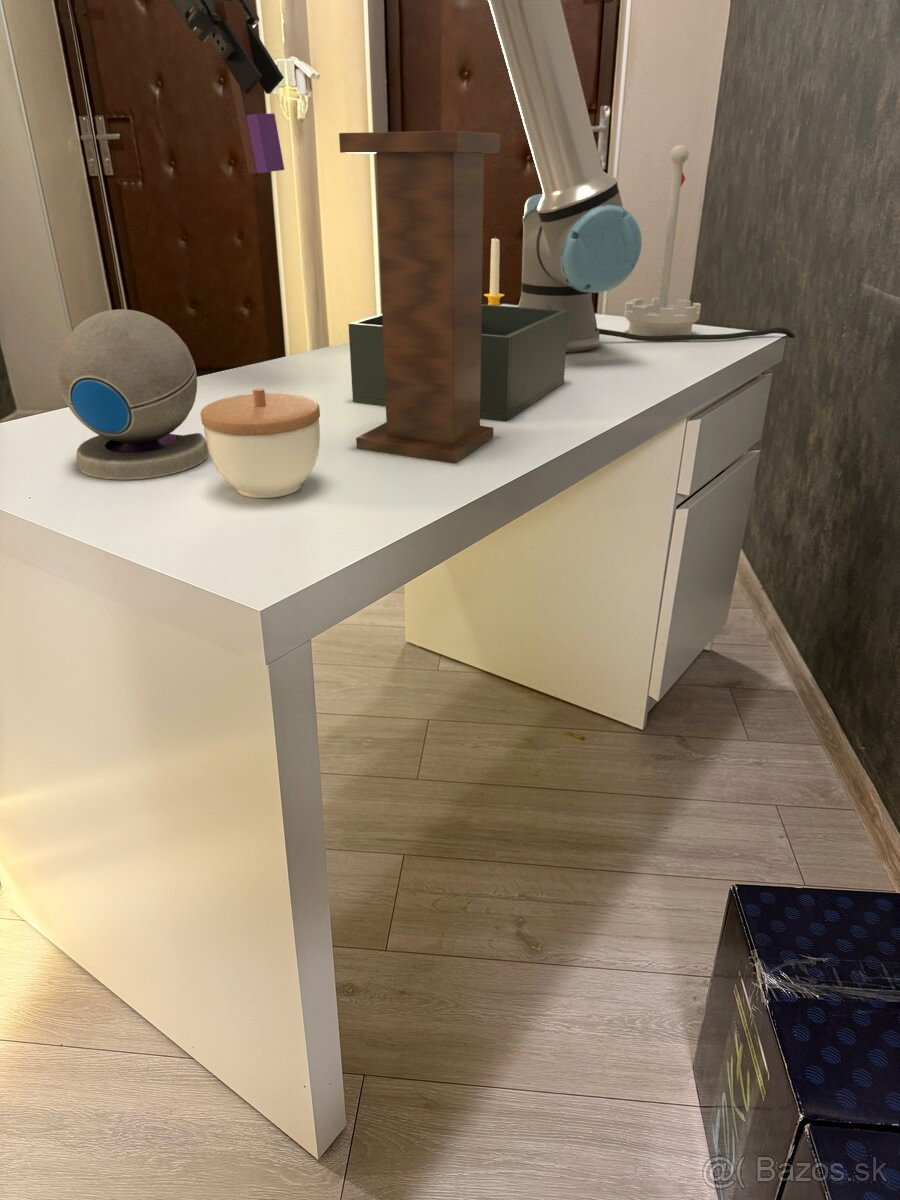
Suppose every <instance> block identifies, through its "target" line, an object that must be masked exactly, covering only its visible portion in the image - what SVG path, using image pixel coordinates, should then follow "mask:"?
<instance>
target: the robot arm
mask: <svg viewBox="0 0 900 1200" xmlns="http://www.w3.org/2000/svg"><path fill="white" fill-rule="evenodd" d="M169 1H170V3H171V5H172V6H173V7H174V9H175V10H176V12H177V14H178V15H179V16H180V17H181V19H182V21H183V22H184V23H185V25H186V27H187V28H188V29H189V30H191V31H196V29H198V30H199V31H198V32H197V34H196V38H197V39H198V40H199V41H200V42H202V43H205V42H206V40H208V39H209V40H210V42H211V43H212V45H213V47H214V48H215V49H216V52H217V53H218V55H219V56H220V57H221V59H222V61H223V62H224V64H225V65H226V67H227V69H228V68H229V70H230V72H231V73H232V75H233V76H234V78H235V79H236V81H237V83H238V84H239V86H240V87H241V89H242V90H243V92H244V93H249V92H250V91H251V90H252V88H253V87H254V86H255V85H256V84H257V83H259V85H260V86H261V88H262V89H263V91H264V92H265V94H266V95H270V94H271V93H272V92H273V91H274V90H275V89H276V88H277V86H278V85H279V84H280V83H282V81H283V79H284V75H283V73H282V72H281V70H280V69H279V67H278V65H277V64H276V62H275V60H274V59H273V58H272V56H271V54H270V53H269V51H268V50H267V48H266V46H265V45H264V43H263V42H262V40H261V39H260V37H259V35H258V34H257V31H256V30H255V29H254V28H255V27H256V26H257V24H258V23H259V22H260V18H259V14H257V12H256V10H255V9H254V6H253V5H252V4H251V1H250V0H169ZM220 1H229V2H235V3H241V4H243V7H244V13H245V18H246V24H247V29H248V34H249V40H250V45H251V51H252V56H253V61H254V62H253V61H252V59H251V58H250V56H249V55H248V53H247V51H246V50H245V48H244V47H243V45H242V43H241V42H240V40H239V39H238V37H237V35H236V34H235V32H234V31H233V29H232V27H231V26H230V24H229V23H228V22H227V21H223V23H222V24H221V25H220V24H219V22H220V21H221V18H220V16H219V14H218V12H217V10H216V5H215V3H216V2H220ZM487 1H488V3H489V7H490V11H491V15H492V17H493V21H494V24H495V28H496V33H497V35H498V39H499V42H500V45H501V49H502V53H503V56H504V60H505V63H506V67H507V70H508V75H509V78H510V81H511V84H512V87H513V91H514V95H515V98H516V102H517V105H518V109H519V112H520V116H521V119H522V123H523V127H524V130H525V134H526V137H527V140H528V144H529V148H530V150H531V155H532V158H533V161H534V164H535V168H536V172H537V176H538V179H539V182H540V186H541V189H542V193H538V194H534V195H532V196H530V197H528V198H527V200H526V201H525V204H524V211H523V212H524V213H523V216H522V225H523V228H522V229H523V230H522V231H523V233H522V256H521V257H522V260H521V261H522V262H521V289H520V299H519V302H518V304H517V307H527V308H542V309H556V310H568V325H567V341H566V353H579V352H586V351H591V350H593V349H596V348H598V347H599V346H600V336H601V335H603V336H610V337H617V338H622V339H627V340H633V341H642V342H666V341H667V342H669V341H714V340H715V341H717V340H718V341H719V340H734V339H741V338H747V337H748V338H749V337H760V336H767V335H772V334H778V333H780V334H783V335H786V336H787V337H788V338H792V339H795V338H796V335H795V334H794V333H793V331H792V330H790V329H788V328H786V327H780V326H779V327H771V328H767V329H761V330H751V331H750V330H748V331H742V332H741V331H740V332H733V333H720V334H719V333H718V334H717V333H716V334H691V335H666V336H643V335H634V334H629V332H625V331H624V332H623V331H617V330H611V329H606V328H605V329H603V328H599V327H598V324H597V317H596V312H595V308H594V304H593V299H592V298H593V297H592V295H593V293H594V294H595V293H596V294H598V293H599V294H600V293H605V292H609V291H611V290H613V289H615V288H617V287H618V286H619V285H621V284H623V283H624V282H625V281H627V279H628V278H629V277H630V276H631V274H632V273H633V271H634V269H635V267H636V265H637V263H638V262H639V258H640V255H641V251H642V243H643V242H642V240H643V239H642V232H641V228H640V225H639V223H638V221H637V220H636V218H635V217H634V216H633V214H632V213H631V212H630V211H628V209H627V208H624V206H623V201H622V197H621V193H620V190H619V185H618V181H617V179H616V177H614V176H612V175H611V174H609V173H607V172H605V170H604V169H603V168H602V163H601V160H600V156H599V152H598V147H597V142H596V138H595V135H594V131H593V127H592V123H591V120H590V115H589V111H588V106H587V102H586V99H585V95H584V90H583V86H582V82H581V78H580V74H579V71H578V67H577V62H576V58H575V54H574V51H573V47H572V43H571V37H570V33H569V29H568V26H567V22H566V18H565V14H564V9H563V6H562V2H561V0H487Z"/></svg>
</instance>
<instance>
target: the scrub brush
mask: <svg viewBox="0 0 900 1200" xmlns="http://www.w3.org/2000/svg"><path fill="white" fill-rule="evenodd" d="M215 5H216V10H217V12H218V14H219V16H220V18H221V21H220V22H219V24H220V25H221V24H222V23H223V21H227V22H228V23H229V24H230V26H231V27H232V29H233V31H234V32H235V34H236V35H237V37H238V39H239V40H240V42H241V43H242V45H243V47H244V48H245V50H246V51H247V53H248V55H249V56H250V58H251V59H252V61H253V56H252V51H251V45H250V40H249V34H248V29H247V24H246V18H245V13H244V7H243V4H241V3H235V2H229V1H220V2H216V3H215ZM253 62H254V61H253ZM227 70H228V76H229V80H230V86H231V91H232V97H233V101H234V106H235V109H236V110H235V111H236V115H237V116H236V117H237V120H238V121H237V122H238V125H239V130H240V135H241V140H242V141H241V142H242V146H243V151H244V156H245V161H246V166H247V172H248V175H255V174H264V173H270V172H279V171H285V165H284V160H283V153H282V148H281V143H280V136H279V132H278V126H277V120H276V115H275V113H264V111H263V106H262V99H261V93H260V89H259V84H258V83H259V82H257V84H256V85H255V86H254V87H253V88H252V90H251V91H250V92H249V93H244V92H243V90H242V89H241V87H240V86H239V84H238V83H237V81H236V79H235V78H234V76H233V75H232V73H231V72H230V70H229V68H228V67H227Z"/></svg>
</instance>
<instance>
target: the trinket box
mask: <svg viewBox="0 0 900 1200" xmlns="http://www.w3.org/2000/svg"><path fill="white" fill-rule="evenodd" d="M320 409H321V408H320V404H319V403H318V402H317V400H315V399H313V398H310V397H308V396H304V395H299V394H292V393H281V392H279V393H277V392H266V391H265V388H261V387H257V388H253V389H252V393H248V394H241V395H234V396H230V397H224V398H222V399H218V400H216V401H212V402H210V403H207V404H206V405H204V407H203V408H201V411H200V412H199V413H200V420H201V424H202V426H203V429H204V430H203V431H204V438H205V440H206V443H207V447H208V455H209V457H210V459H211V461H212V464H213V466H214V467H215V469H216V471H217V472H218V474H219V475H220V476H221V477H222V479H223V480H224V481H226V482H227V483H228V484H229V485H231V486H232V487H234V488H235V489H236V492H237V493H238V494H240V495H241V496H244V497H248V498H251V499H253V498H254V499H275V498H281V497H284V496H288V495H291V494H294V493H296V492H297V491H299V490H300V489H301V488H302V483H303V482H305V481H306V479H308V477H309V476H310V475H311V474H312V472H313V470H314V468H315V466H316V463H317V461H318V457H319V451H320V445H321V427H320V426H321V425H320V416H321V410H320Z"/></svg>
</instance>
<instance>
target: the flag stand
mask: <svg viewBox="0 0 900 1200" xmlns="http://www.w3.org/2000/svg"><path fill="white" fill-rule="evenodd" d="M689 153H690V152H689V149H688V147H687V146H686V145H684V144H678V145H675V146H674V147H673V148H672V149H671V151H670V155H669V157H670V161H671V162H672V164H673V166H672V167H673V168H672V175H671V176H672V177H671V185H670V194H669V195H670V196H669V205H668V213H667V221H666V231H665V240H664V250H663V259H662V268H661V274H660V275H661V277H660V285H659V287H660V288H659V294H658V297H652V298H651V304H644V299H643V298H634V299H633V298H632V299H630V301H625V306H624V314H623V315H624V318H625V319H626V320H627V321H628V322H629V326H628V333H629V334H634V335H643V336H666V335H692V329H693V325H694V324H695V323H696V322H697V321H698V320H699V319H700V314H701V308H702V307H701V306H702V304H701V303H700V302H692V300H688V299H680V298H679V299H677V300H676V305H675V304H668V298H669V290H670V282H671V274H672V264H673V257H674V256H673V255H674V248H675V240H676V239H675V238H676V231H677V230H676V229H677V220H678V211H679V204H680V196H681V195H680V194H681V188H682V186H683V184H684V182H685V180H686V177H685V174H684V172H683V168H684V163H686V162H687V161H688V159H689V156H690V155H689Z"/></svg>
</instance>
